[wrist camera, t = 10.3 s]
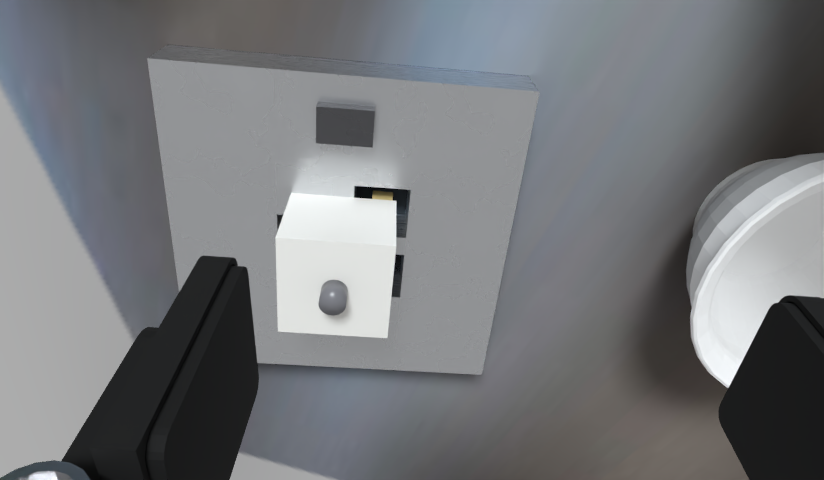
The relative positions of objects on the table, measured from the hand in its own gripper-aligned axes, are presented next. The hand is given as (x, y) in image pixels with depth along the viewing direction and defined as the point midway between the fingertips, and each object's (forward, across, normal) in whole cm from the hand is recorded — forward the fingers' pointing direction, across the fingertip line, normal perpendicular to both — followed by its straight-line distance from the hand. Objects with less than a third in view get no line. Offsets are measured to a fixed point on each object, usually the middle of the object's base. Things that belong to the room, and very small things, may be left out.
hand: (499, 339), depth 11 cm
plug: (+23, +6, +12) cm, 26 cm away
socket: (+24, +6, +12) cm, 28 cm away
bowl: (+26, -22, +11) cm, 35 cm away
